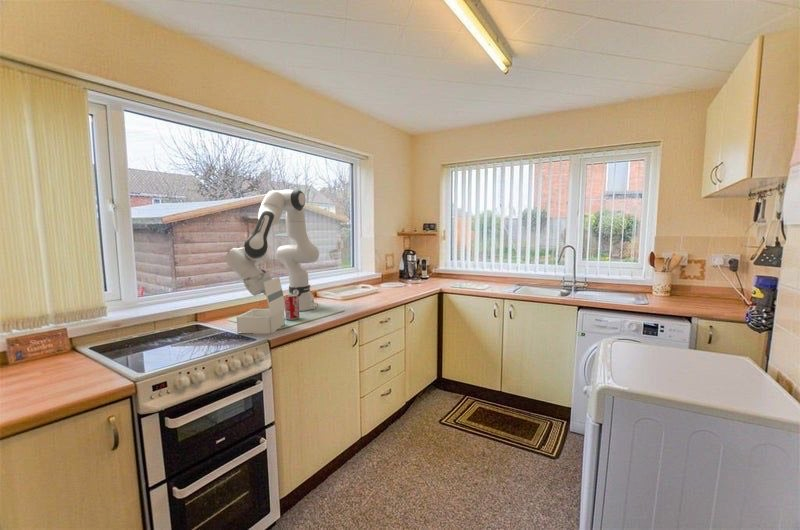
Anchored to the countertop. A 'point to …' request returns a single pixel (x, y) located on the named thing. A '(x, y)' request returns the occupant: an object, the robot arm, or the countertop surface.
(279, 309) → the mailer lid
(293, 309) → the soda can
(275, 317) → the box
